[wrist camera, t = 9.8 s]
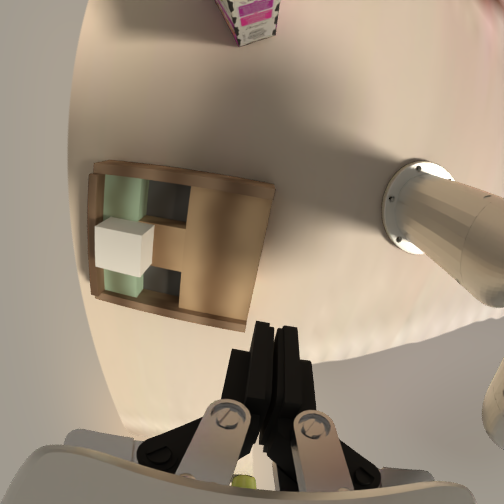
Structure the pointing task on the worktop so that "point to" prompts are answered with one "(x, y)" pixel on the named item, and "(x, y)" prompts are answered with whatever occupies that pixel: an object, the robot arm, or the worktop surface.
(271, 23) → the candy bar box
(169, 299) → the box
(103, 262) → the cream block
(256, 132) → the worktop surface
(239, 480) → the plant pot
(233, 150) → the worktop surface
